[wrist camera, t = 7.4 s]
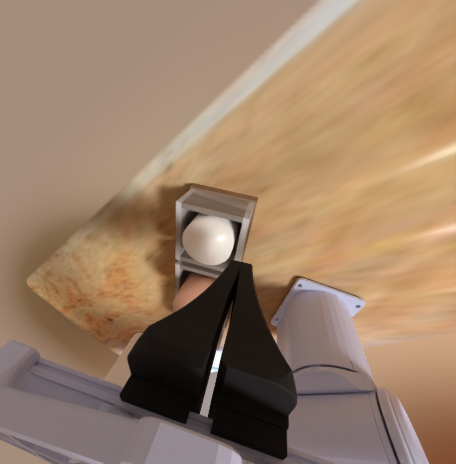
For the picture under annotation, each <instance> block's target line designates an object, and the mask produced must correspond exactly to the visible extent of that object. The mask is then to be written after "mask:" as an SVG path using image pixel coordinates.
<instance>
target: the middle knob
mask: <svg viewBox="0 0 456 464" xmlns="http://www.w3.org/2000/svg"><path fill="white" fill-rule="evenodd" d="M216 279H217V278H213V277H209V276H206V275H202V274H199V273H195V272H192V271H191V272H190V273H189V275H188V277H187V278H186V280H185V282H184V283H183V285H182V287H181V289H180V290H179V292H178V294H177V296H176V297H175V299H174V301H173V305H172V306H173V310H174V312H176V311H177V310H179V309H181V308H182V307H184V306H185V305H187V304H188V303H189V302H191V301H192V300H194V299H195V298H196V297H197V296H199V295H200V294H201V293H202V292H203V291H205V290H206V289H207V288H208V287H209V286H210V285H211V284H212V283H213V282H214V281H215V280H216Z"/></svg>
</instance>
